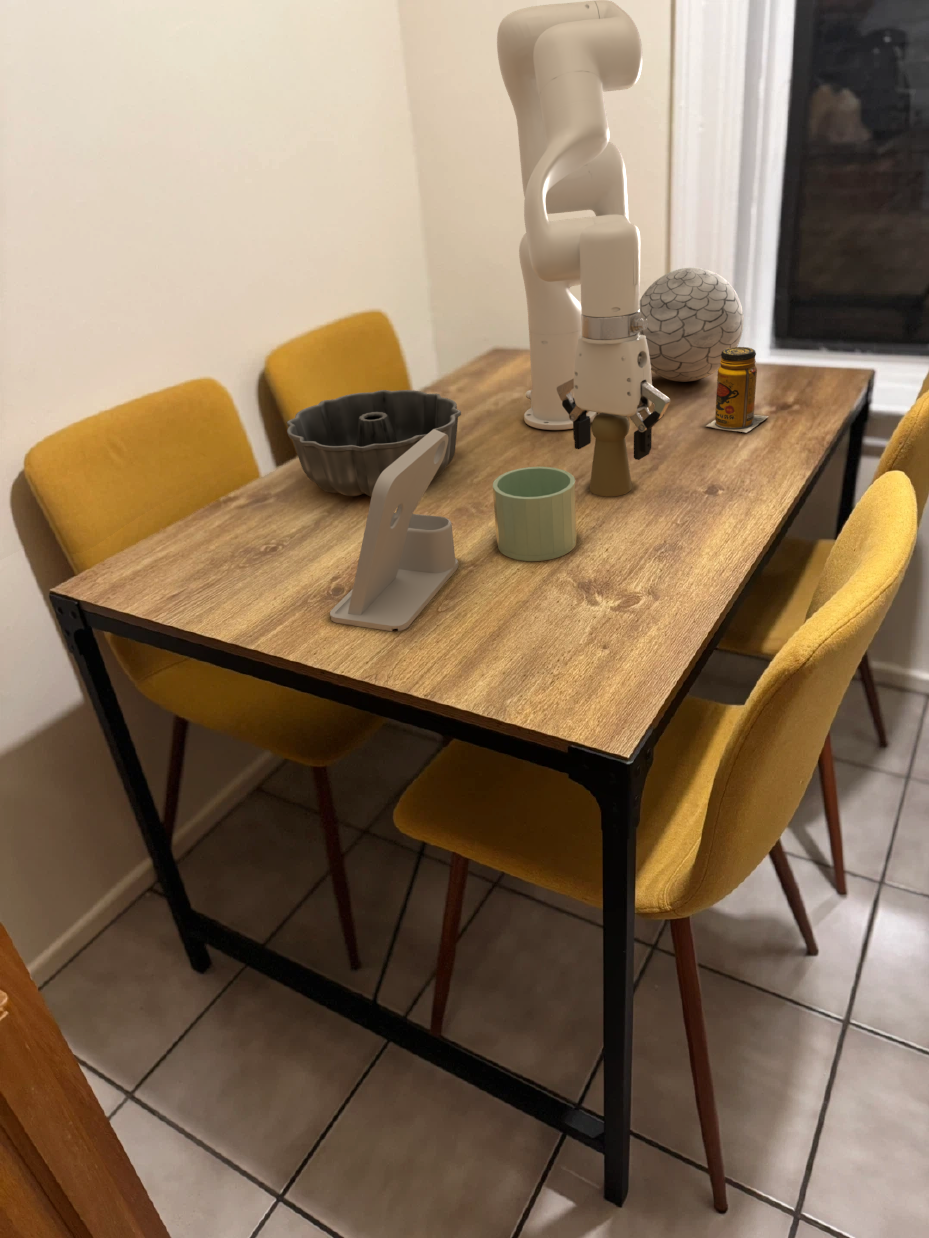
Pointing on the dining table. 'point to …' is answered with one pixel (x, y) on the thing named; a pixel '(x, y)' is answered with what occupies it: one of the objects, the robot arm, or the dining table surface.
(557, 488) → the cup
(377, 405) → the bundt pan
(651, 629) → the dining table surface
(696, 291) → the decorative sphere
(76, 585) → the dining table surface
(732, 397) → the condiment
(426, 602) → the phone holder
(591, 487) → the brown game pawn
